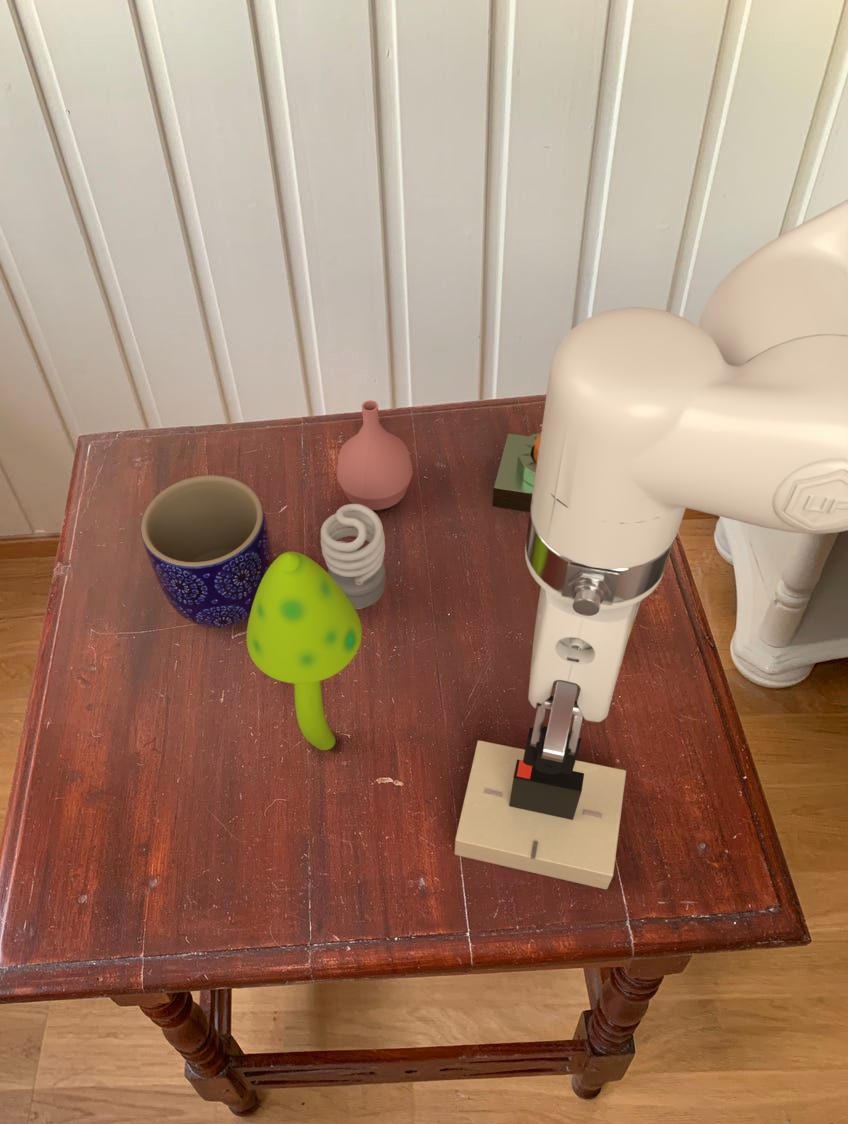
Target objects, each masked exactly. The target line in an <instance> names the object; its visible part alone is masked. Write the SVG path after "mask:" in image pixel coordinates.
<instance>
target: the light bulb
mask: <svg viewBox="0 0 848 1124" xmlns="http://www.w3.org/2000/svg"><path fill="white" fill-rule="evenodd" d="M349 537H353V538H355V539H354V540H352V541H350V542H348V541H344V540H340V539H343V538H349ZM365 542H368V544H366V545H365V546H364V547H363V545H364V544H365ZM320 547H321V554H322V557H323V559H324V562H325V565H326V567H327V571H326V572H327V573H328V574H329V575H330V576H331V577H332V578H333V579H334V580H335V582H336V583H337V584H338V585H339V587H340V588H341V589H342V590H343V592H344V593H345V595H346V596H347V597H348V599H349V600H350V602H351V603H352V605H353V607H354V608H355V610H360V609H365V608H368V607H370V606H372V605H374V604H375V603H377V602H378V601H379V600H380V598H382V596H383V594H384V592H385V585H386V576H387V575H386V569H385V564H384V559H385V553H386V537H385V531H384V527H383V522H382V520H381V518H380V517H379V516H378V514H377V513H376V512H375V510H371V509H369V508H368V507H366V506H363V505H361V504H353V503H348V504H344V505H342V506H341V507H339V508H338V509H337V510H336V512H335V513H334V514H332V515H330V516H329V517H327V518H326V519H325V520H324V522H323V523H322V525H321V528H320Z"/></svg>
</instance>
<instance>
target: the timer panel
mask: <svg viewBox="0 0 848 1124" xmlns="http://www.w3.org/2000/svg"><path fill="white" fill-rule="evenodd" d="M524 753H525V749H524V748H519V747H513V746H508V745H503V744H498V743H494V742H489V741H483V740H477V742H476V745H475V751H474V755H473V760H472V763H471V769H470V773H469V777H468V782H467V786H466V789H465V793H464V794H465V795H464V799H463V804H462V808H461V812H460V817H459V822H458V826H457V830H456V834H455V839H454V855H455V856H458V857H463V858H467V859H471V860H476V861H480V862H484V863H488V864H494V865H497V866H501V867H502V866H503V867H505V868H506V867H507V868H511V869H516V870H518V871H519V870H520V871H524V872H529V873H533V874H536V875H542V876H546V877H550V878H555V879H559V880H563V881H567V882H572V883H577V884H581V885H584V886H590V887H593V888H598V889H602V890H608V888H609V887H610V884H611V881H612V879H613V877H614V873H615V865H616V857H617V850H618V842H619V841H618V840H619V833H620V826H621V825H620V824H621V817H622V810H623V809H622V808H623V801H624V792H625V785H626V778H627V777H626V775H627V770H626V769H621V768H616V767H612V766H606V765H602V764H596V763H591V762H587V761H581V760H577V759H576V761H575V764H574V768H573V771H576V772H581V773H584V779H583V786H582V792H581V795H580V799H579V802H578V805H577V809H576V812H575V815H574V819H573V820H570V819H565V818H561V817H556V816H552V815H547V814H542V813H538V812H533V811H529V810H524V809H519V808H515V807H510V806H509V802H510V796H511V790H512V783H513V777H514V772H515V767H516V762H517V760H523V758H524Z"/></svg>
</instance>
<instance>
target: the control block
mask: <svg viewBox="0 0 848 1124" xmlns="http://www.w3.org/2000/svg"><path fill="white" fill-rule="evenodd" d="M539 435H541V432H537V433H536V432H535V433H532V434H531V435H522V434H515V433H507V435H506V439H505V443H504V447H503V451H502V454H501V458H500V463H499V466H498V470H497V473H496V478H495V482H494V486H493V495H492V507H494V508H502V509H507V510H514V511H521V512H528V513H530V509H531V502H532V495H533V487H534V480H535V473H536V466H537V463H536V462H535V460H534V457H533V455H534V446H535V440H536V438H537V437H538V436H539Z"/></svg>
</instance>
